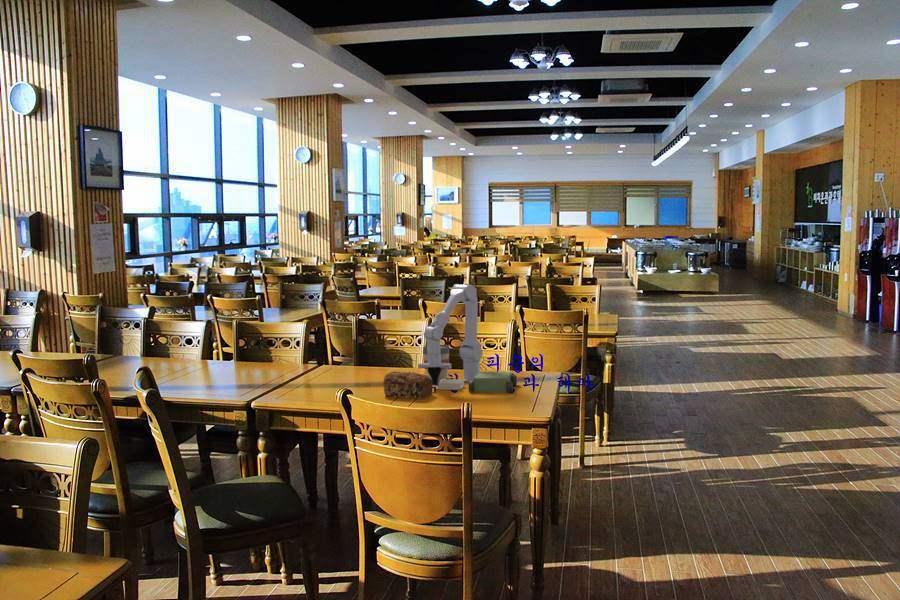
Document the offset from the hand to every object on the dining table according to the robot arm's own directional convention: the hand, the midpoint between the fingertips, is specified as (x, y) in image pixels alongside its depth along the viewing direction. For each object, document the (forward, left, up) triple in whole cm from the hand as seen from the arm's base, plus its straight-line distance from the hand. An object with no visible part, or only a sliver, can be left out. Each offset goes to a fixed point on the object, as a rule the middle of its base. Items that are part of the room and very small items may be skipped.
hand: (435, 384), depth 334 cm
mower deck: (0, +26, -2) cm, 26 cm away
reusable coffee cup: (-21, -4, -2) cm, 22 cm away
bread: (+14, -8, -2) cm, 17 cm away
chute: (0, +7, -1) cm, 7 cm away
